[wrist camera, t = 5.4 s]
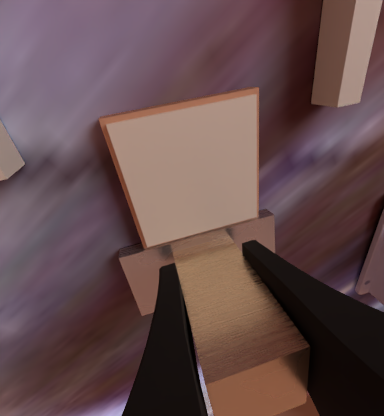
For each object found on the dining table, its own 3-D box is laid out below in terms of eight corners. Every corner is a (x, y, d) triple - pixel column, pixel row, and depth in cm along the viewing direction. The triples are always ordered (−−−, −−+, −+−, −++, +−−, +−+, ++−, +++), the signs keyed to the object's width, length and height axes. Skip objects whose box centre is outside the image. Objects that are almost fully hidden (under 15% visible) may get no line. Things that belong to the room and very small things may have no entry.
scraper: (268, 265, 14) (369, 384, 8) (141, 304, 13) (145, 474, 7) (266, 208, 12) (392, 305, 6) (119, 249, 11) (100, 410, 5)
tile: (249, 207, 13) (260, 219, 12) (142, 236, 12) (144, 251, 11) (247, 86, 9) (261, 87, 8) (101, 115, 9) (97, 120, 8)
